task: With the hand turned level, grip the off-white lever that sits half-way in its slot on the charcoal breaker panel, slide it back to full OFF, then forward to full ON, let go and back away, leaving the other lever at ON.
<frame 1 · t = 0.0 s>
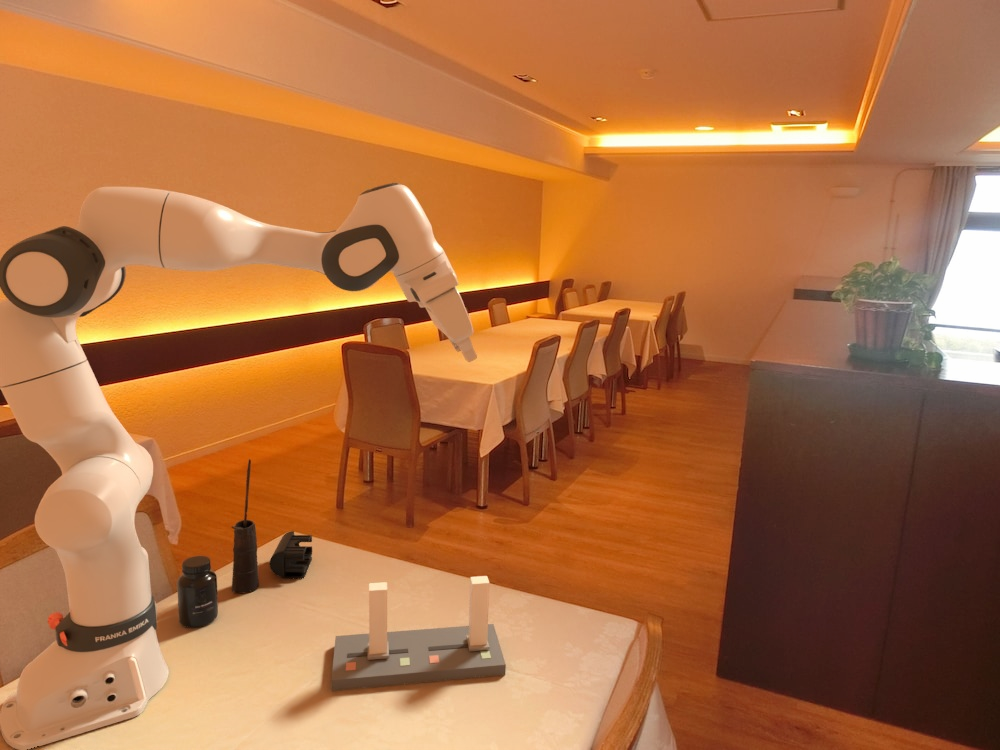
hand: (466, 354, 107), 54 cm above the table, tool tilted 30°, fingers open, 8 cm apart
tripped breaker lever: (378, 619, 110), point 9 cm above the table, slide at 0.0 cm
breaker panel: (418, 660, 113), on the table
butter churn: (241, 591, 133), on the table
end cap: (292, 569, 143), on the table
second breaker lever: (478, 612, 114), point 9 cm above the table, slide at 3.5 cm
supplement bottle: (199, 619, 123), on the table
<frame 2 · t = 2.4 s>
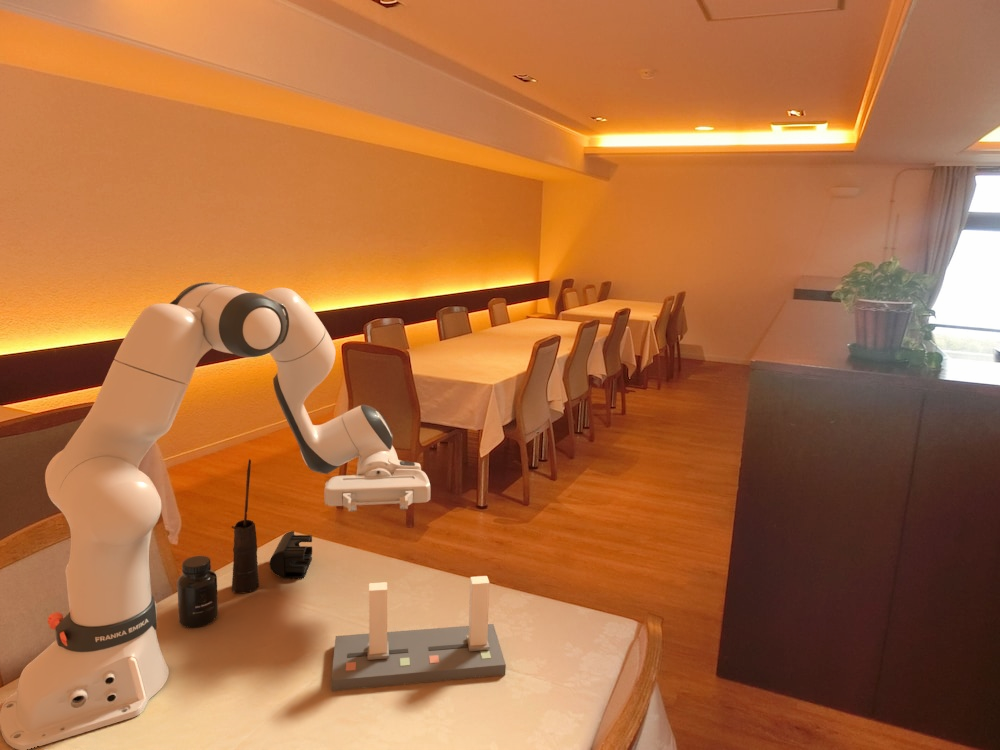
hand: (378, 506, 119), 24 cm above the table, tool horizontal, fingers open, 8 cm apart
nothing on the table moved.
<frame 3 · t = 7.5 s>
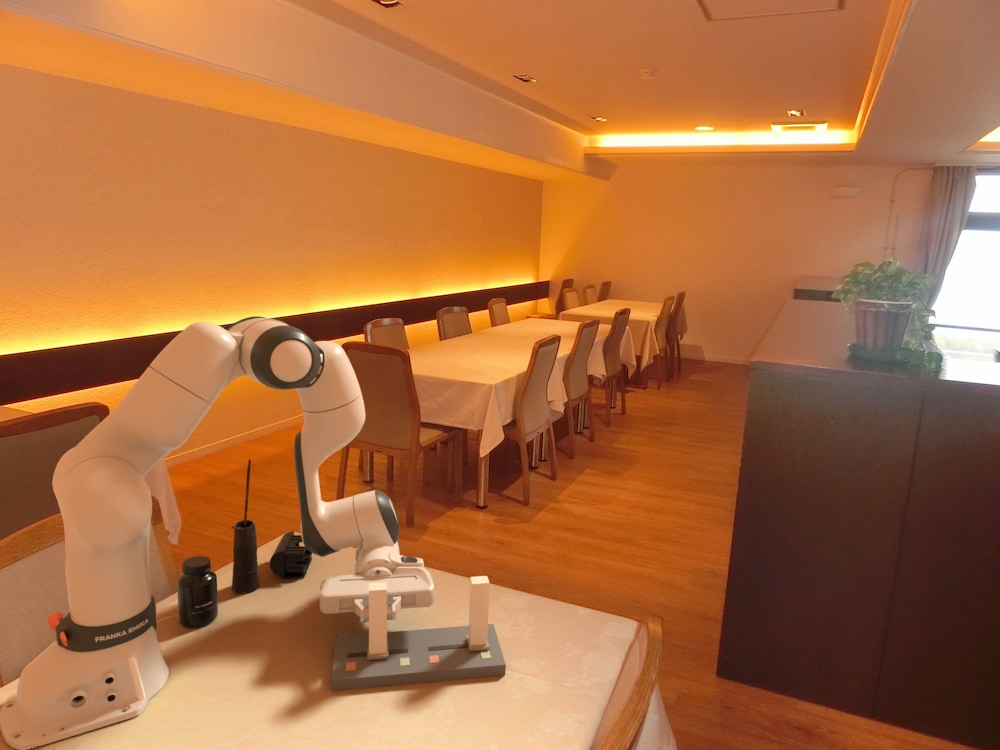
hand: (378, 617, 109), 10 cm above the table, tool horizontal, fingers closed on tripped breaker lever, 3 cm apart
tripped breaker lever: (377, 619, 110), point 9 cm above the table, slide at 0.0 cm, touching gripper
everything else where it was.
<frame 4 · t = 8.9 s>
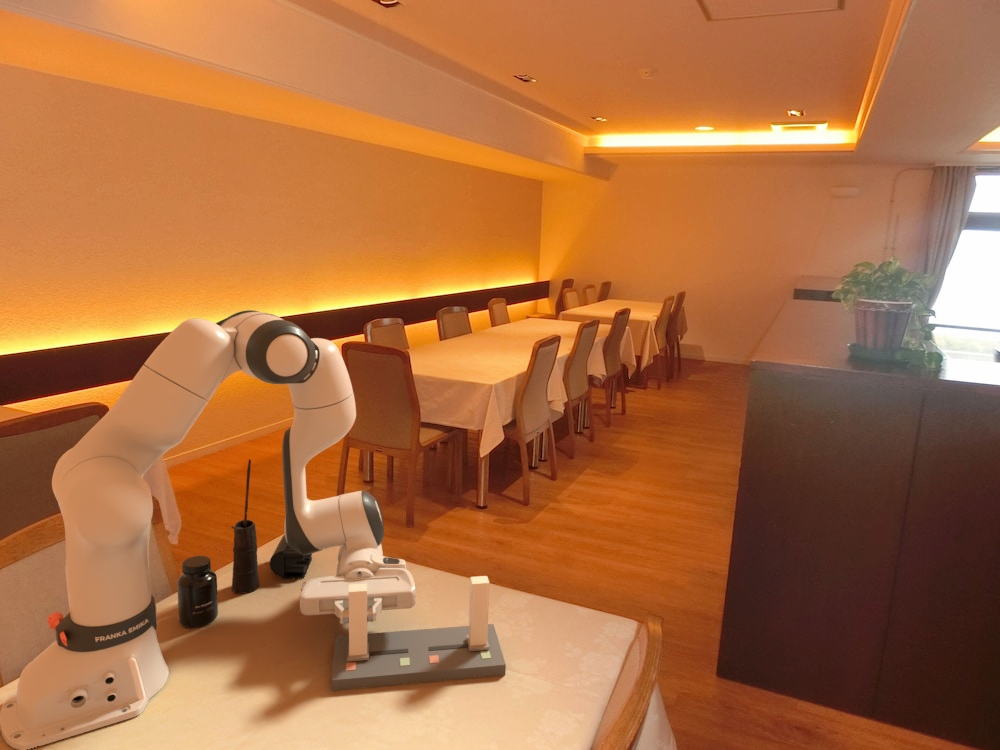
hand: (358, 619, 109), 9 cm above the table, tool horizontal, fingers closed on tripped breaker lever, 3 cm apart
tripped breaker lever: (358, 620, 110), point 9 cm above the table, slide at -3.4 cm, touching gripper
everything else where it was.
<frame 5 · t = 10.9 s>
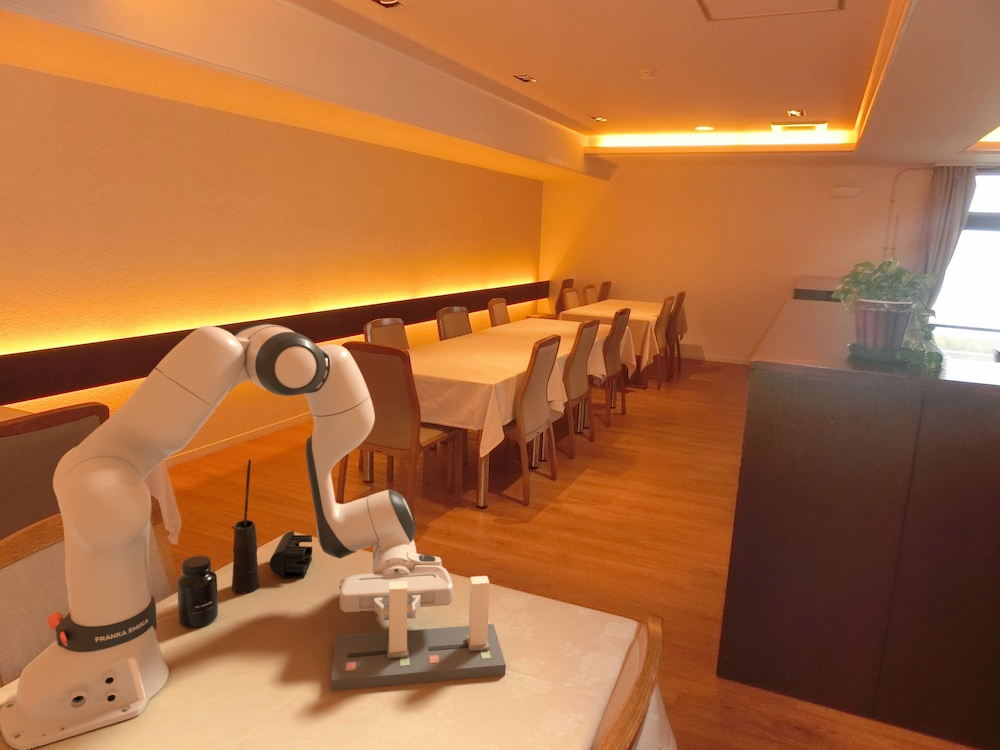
hand: (398, 615, 110), 10 cm above the table, tool horizontal, fingers closed on tripped breaker lever, 3 cm apart
tripped breaker lever: (398, 617, 111), point 9 cm above the table, slide at 3.4 cm, touching gripper
everything else where it was.
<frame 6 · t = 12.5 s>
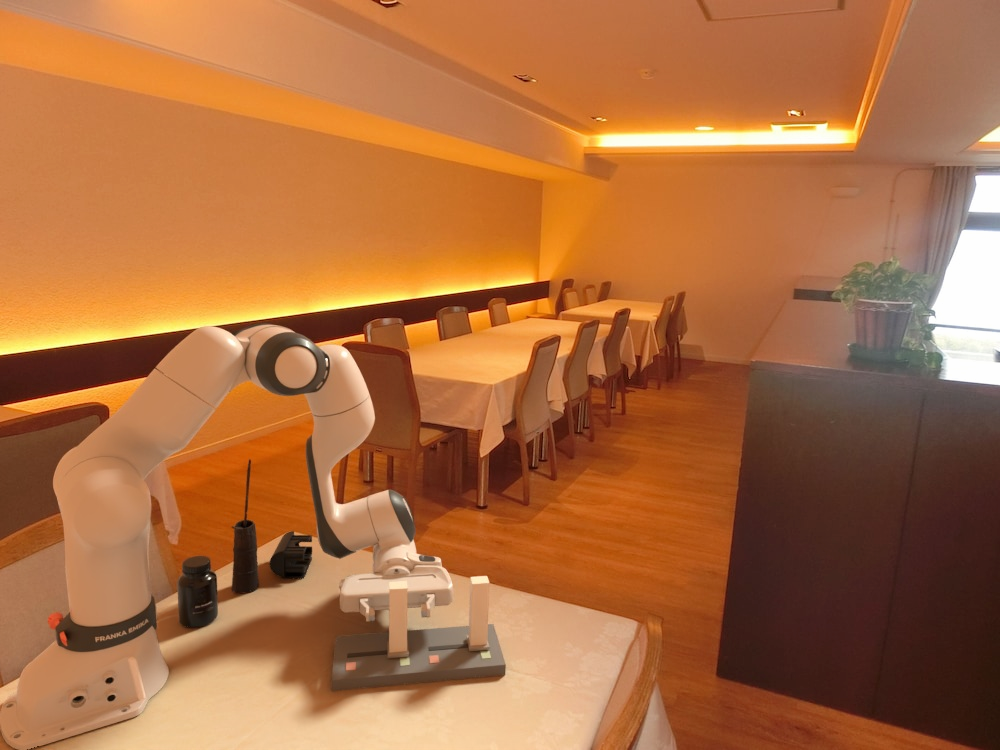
hand: (398, 615, 110), 10 cm above the table, tool horizontal, fingers open, 8 cm apart
tripped breaker lever: (398, 617, 111), point 9 cm above the table, slide at 3.4 cm
everything else where it was.
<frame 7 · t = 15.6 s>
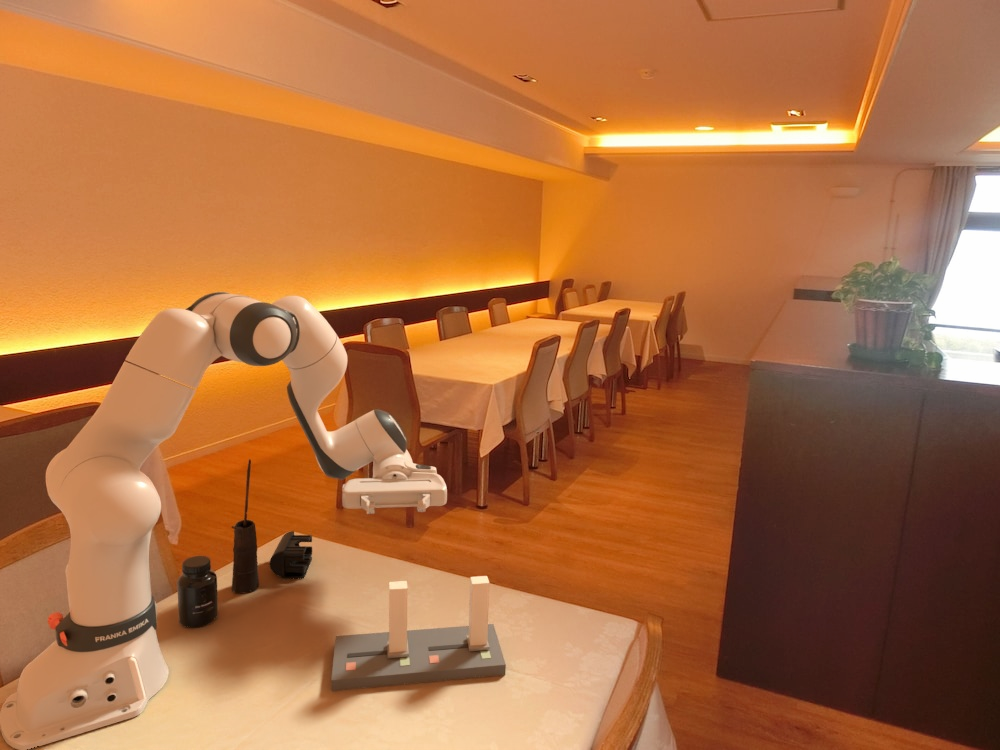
hand: (396, 509, 119), 23 cm above the table, tool horizontal, fingers open, 8 cm apart
nothing on the table moved.
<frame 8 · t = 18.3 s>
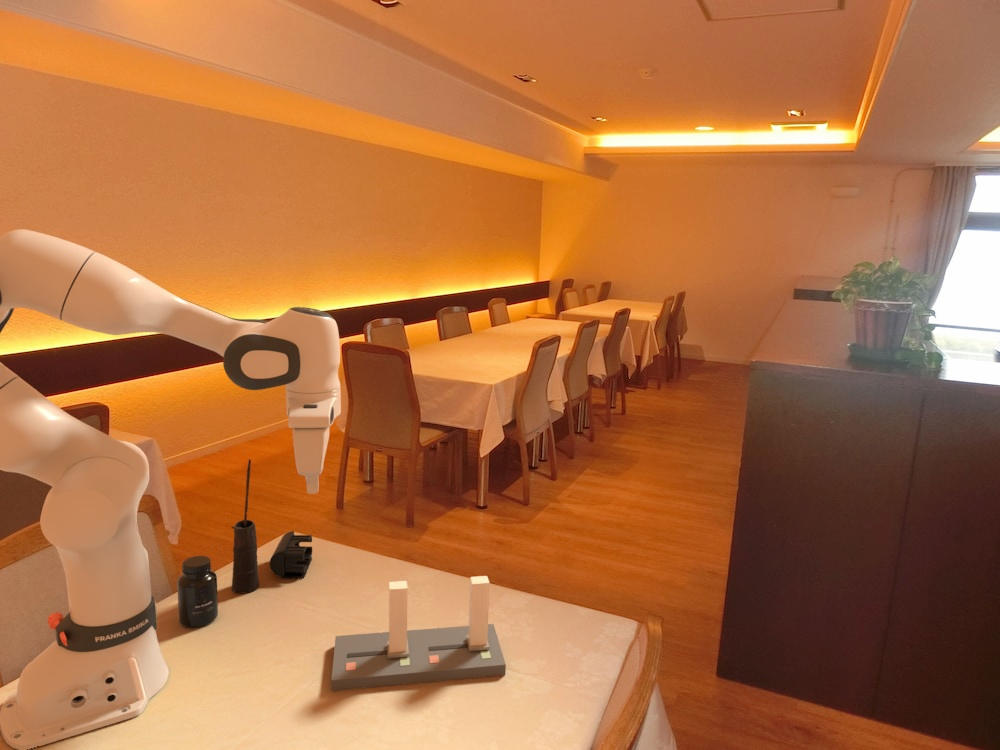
hand: (315, 481, 111), 31 cm above the table, tool pointing down, fingers open, 8 cm apart
nothing on the table moved.
at the end: tripped breaker lever slide at 3.4 cm; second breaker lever slide at 3.5 cm; the gripper is holding nothing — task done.
